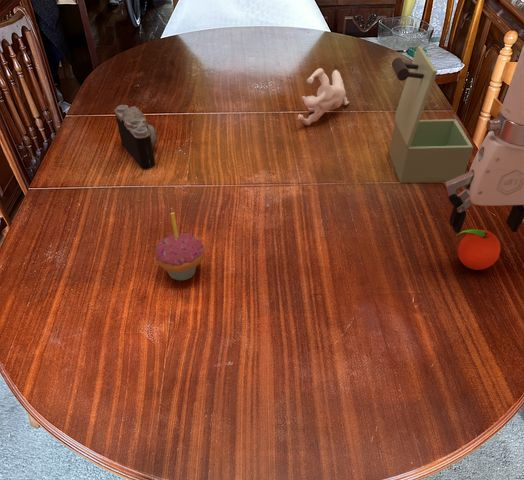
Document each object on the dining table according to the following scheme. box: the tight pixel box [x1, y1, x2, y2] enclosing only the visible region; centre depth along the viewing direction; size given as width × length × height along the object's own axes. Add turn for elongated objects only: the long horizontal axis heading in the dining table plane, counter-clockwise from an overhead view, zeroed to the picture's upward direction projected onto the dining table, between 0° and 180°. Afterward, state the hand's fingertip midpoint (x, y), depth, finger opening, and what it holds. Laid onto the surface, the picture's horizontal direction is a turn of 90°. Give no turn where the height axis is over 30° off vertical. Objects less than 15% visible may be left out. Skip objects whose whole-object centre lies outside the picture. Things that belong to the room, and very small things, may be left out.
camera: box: [114, 104, 158, 171], centre depth 115 cm, size 15×7×10 cm, turn 31°
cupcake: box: [154, 207, 205, 281], centre depth 86 cm, size 9×8×12 cm
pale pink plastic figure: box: [297, 68, 350, 126], centre depth 127 cm, size 13×13×18 cm
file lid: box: [391, 45, 438, 146], centre depth 102 cm, size 14×13×6 cm
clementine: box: [457, 228, 501, 271], centre depth 89 cm, size 8×7×7 cm
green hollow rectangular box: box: [388, 118, 474, 184], centre depth 111 cm, size 14×13×8 cm
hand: (482, 227), depth 86 cm, fingers open, 9 cm apart
